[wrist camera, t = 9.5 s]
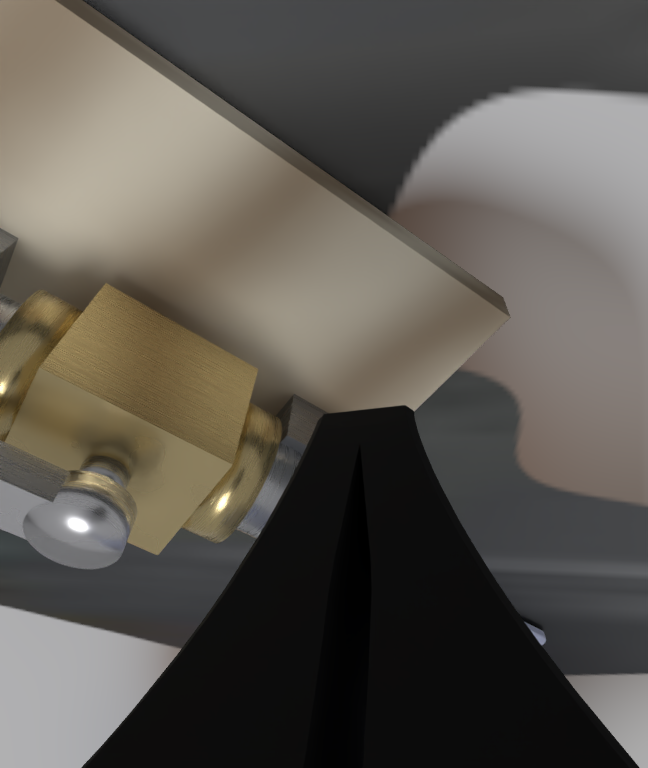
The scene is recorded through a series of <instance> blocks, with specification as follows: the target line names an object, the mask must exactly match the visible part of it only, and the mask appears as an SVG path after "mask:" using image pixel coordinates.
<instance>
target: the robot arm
mask: <svg viewBox="0 0 648 768" xmlns="http://www.w3.org/2000/svg"><path fill="white" fill-rule="evenodd" d="M545 642H546V638H545V634H544V632H543V631H542V630H540V629H538V628H536V627H534V626H532V625H530V624H528V623H526V622H524V621H523V619H522V618H521V616H520V615H519V614H518V612H517V611H516V609H515V608H514V607H513V605H512V604H511V602H510V601H509V599H508V598H507V596H506V595H505V593H504V592H503V590H502V589H501V587H500V586H499V584H498V583H497V581H496V580H495V578H494V577H493V575H492V574H491V572H490V571H489V569H488V567H487V566H486V564H485V563H484V561H483V559H482V558H481V556H480V554H479V553H478V551H477V550H476V548H475V546H474V545H473V543H472V542H471V540H470V538H469V537H468V535H467V533H466V531H465V530H464V528H463V526H462V524H461V523H460V521H459V519H458V517H457V515H456V514H455V512H454V510H453V508H452V506H451V504H450V502H449V500H448V499H447V497H446V495H445V493H444V491H443V489H442V487H441V485H440V483H439V481H438V479H437V477H436V475H435V473H434V471H433V469H432V466H431V464H430V462H429V459H428V457H427V455H426V452H425V450H424V447H423V445H422V442H421V439H420V436H419V433H418V430H417V426H416V422H415V418H414V411H413V410H412V409H410V408H409V407H407V406H406V405H401V406H392V407H383V408H374V409H365V410H356V411H347V412H338V413H329V414H323V416H322V417H321V418H320V419H319V420H318V422H317V424H316V426H315V429H314V431H313V433H312V436H311V438H310V440H309V442H308V444H307V447H306V449H305V451H304V453H303V455H302V457H301V459H300V461H299V463H298V465H297V467H296V469H295V471H294V473H293V475H292V477H291V479H290V481H289V483H288V485H287V486H286V488H285V490H284V492H283V494H282V495H281V497H280V499H279V501H278V503H277V505H276V506H275V508H274V510H273V512H272V514H271V515H270V517H269V519H268V521H267V523H266V524H265V526H264V528H263V529H262V531H261V533H260V534H259V536H258V538H257V539H256V541H255V542H254V544H253V546H252V547H251V549H250V550H249V552H248V554H247V555H246V557H245V558H244V560H243V561H242V563H241V565H240V566H239V568H238V569H237V571H236V573H235V574H234V576H233V577H232V579H231V580H230V582H229V584H228V585H227V586H226V588H225V589H224V591H223V592H222V594H221V595H220V597H219V598H218V600H217V601H216V603H215V604H214V605H213V607H212V608H211V610H210V611H209V613H208V614H207V615H206V617H205V618H204V620H203V621H202V622H201V624H200V625H199V626H198V628H197V629H196V630H195V632H194V633H193V634H192V636H191V637H190V638H189V640H188V641H187V642H186V644H185V645H184V647H183V648H182V649H181V651H180V652H179V653H178V655H177V656H176V657H175V658H174V660H173V661H172V662H171V663H170V665H169V666H168V667H167V668H166V670H165V671H164V672H163V673H162V674H161V676H160V677H159V678H158V679H157V681H156V682H155V683H154V684H153V686H152V687H151V688H150V689H149V691H148V692H147V693H146V694H145V695H144V697H143V698H142V699H141V700H140V702H139V703H138V704H137V705H136V707H135V708H134V709H133V710H132V712H131V713H130V714H129V715H128V716H127V718H125V720H124V721H123V722H122V723H121V724H120V725H119V727H118V728H117V729H116V730H115V731H114V732H113V734H112V735H111V736H110V737H109V738H108V739H107V740H106V742H105V743H104V744H103V745H102V746H101V747H100V748H99V749H98V750H97V752H96V753H95V754H94V755H93V756H92V757H91V758H90V759H89V760H88V761H87V762H86V763H85V764H84V766H83V767H82V768H639V767H638V765H637V764H636V763H635V762H634V761H633V759H632V758H631V757H630V756H629V754H628V753H627V752H626V751H625V750H624V748H623V747H622V746H621V745H620V744H619V742H618V741H617V740H616V739H615V738H614V736H613V735H612V734H611V733H610V731H608V729H607V728H606V727H605V725H604V724H603V723H602V722H601V721H600V719H599V718H598V717H597V716H596V715H595V713H594V712H593V711H592V710H591V709H590V707H589V706H588V705H587V704H586V703H585V701H584V700H583V699H582V698H581V697H580V696H579V694H578V693H577V691H576V690H575V689H574V688H573V686H572V685H571V684H570V682H569V681H568V680H567V679H566V677H565V676H564V675H563V673H562V672H561V671H560V669H559V668H558V667H557V665H556V664H555V663H554V661H553V660H552V659H551V657H550V656H549V655H548V653H547V652H546V651H545V650H544V648H543V647H542V645H543V644H544V643H545Z"/></svg>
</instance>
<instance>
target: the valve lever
mask: <svg viewBox="0 0 648 768" xmlns="http://www.w3.org/2000/svg"><path fill="white" fill-rule="evenodd" d="M137 513H138V512H137V506H136V503H135V501H134V499H133V497H132V496H131V495H130V493H129V492H128V491H127V490H126V489H125V488H124V487H122V486H121V485H120V484H118V483H117V482H115V481H114V480H112V479H110V478H108V477H106V476H103V475H100V474H97V473H94V472H89V471H83V470H69V471H67V470H65V469H62V468H60V467H58V466H56V465H54V464H51V463H49V462H47V461H45V460H43V459H40V458H38V457H36V456H34V455H32V454H29V453H27V452H25V451H23V450H21V449H18V448H16V447H14V446H12V445H10V444H7V443H5V442H3V441H1V440H0V529H2V530H4V531H7V532H9V533H12V534H14V535H17V536H19V537H21V538H24V539H26V540H28V542H29V543H30V544H31V545H32V546H33V547H34V548H35V549H36V550H37V551H38V552H39V553H41V554H42V555H44V556H45V557H47V558H49V559H51V560H53V561H55V562H57V563H60V564H63V565H66V566H69V567H74V568H80V569H97V568H103V567H106V566H109V565H111V564H113V563H115V562H116V561H117V560H118V559H119V558H120V556H121V555H122V552H123V550H124V548H125V545H126V543H127V540H128V538H129V535H130V533H131V530H132V528H133V526H134V523H135V521H136V518H137Z"/></svg>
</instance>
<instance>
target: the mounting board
mask: <svg viewBox="0 0 648 768" xmlns="http://www.w3.org/2000/svg"><path fill="white" fill-rule="evenodd" d="M0 228H1V229H3V230H5V231H6V232H8V233H10V234H12V235H14V236H15V237H17V238H18V241H17V244H16V246H15V249H14V252H13V255H12V257H11V260H10V263H9V265H8V268H7V271H6V274H5V276H4V279H3V282H2V284H1V287H0V293H1V294H3V295H5V296H7V297H8V298H10V299H12V300H14V301H16V302H18V303H20V304H23V303H24V302H25V301H26V300H27V299H28V298H29V297H30V296H31V295H32V294H34V293H35V292H36V291H38V290H41V289H42V290H45V291H47V292H48V293H50V294H52V295H54V296H56V297H58V298H59V299H61V300H63V301H65V302H67V303H69V304H70V305H72V306H74V307H76V308H78V309H80V310H81V311H84V310H85V309H86V307H87V306H88V305H89V304H90V302H91V301H92V300H93V298H94V297H95V296H96V295H97V293H98V292H99V291H100V290H101V288H102V287H103V286H104V284H105V283H107V284H109V285H110V286H112V287H114V288H116V289H117V290H119V291H121V292H123V293H124V294H126V295H128V296H130V297H131V298H133V299H135V300H137V301H139V302H140V303H142V304H144V305H146V306H147V307H149V308H151V309H153V310H154V311H156V312H158V313H160V314H162V315H163V316H165V317H167V318H169V319H170V320H172V321H174V322H176V323H177V324H179V325H181V326H183V327H184V328H186V329H188V330H190V331H192V332H193V333H195V334H197V335H199V336H200V337H202V338H204V339H206V340H207V341H209V342H211V343H213V344H215V345H216V346H218V347H220V348H222V349H223V350H225V351H227V352H229V353H230V354H232V355H234V356H236V357H237V358H239V359H241V360H243V361H245V362H246V363H248V364H250V365H252V366H253V367H255V368H257V369H258V372H257V376H256V380H255V383H254V387H253V391H252V395H251V398H250V403H252V404H254V405H256V406H258V407H260V408H261V409H263V410H265V411H267V412H269V413H271V414H272V415H274V416H276V415H277V414H278V413H279V411H280V410H281V409H282V408H283V407H284V405H285V404H286V403H287V402H288V401H289V399H290V398H291V397H292V396H293V395H294V394H296V395H297V396H299V397H301V398H303V399H305V400H306V401H308V402H310V403H312V404H313V405H315V406H317V407H319V408H320V409H322V410H324V411H326V412H328V413H338V412H347V411H356V410H365V409H374V408H383V407H392V406H401V405H406V406H407V407H409V408H410V409H412V410H413V411H415V410H416V409H417V408H418V407H419V406H420V405H421V404H422V403H423V402H424V401H425V400H426V399H427V398H429V397H430V396H431V395H432V394H433V393H434V392H435V391H436V390H437V389H438V388H439V387H440V386H441V385H442V384H443V383H444V382H445V381H446V380H447V379H448V378H449V377H450V376H451V375H452V374H453V373H454V372H455V371H456V370H457V369H458V368H459V367H460V366H461V365H462V364H463V363H464V362H465V361H466V360H468V359H469V358H470V357H471V355H473V354H474V352H476V351H477V350H478V349H479V348H480V347H481V346H482V345H483V344H484V343H485V342H486V341H487V340H488V339H489V338H490V337H491V336H492V335H493V334H494V333H495V332H496V331H497V330H498V329H499V328H500V327H501V326H502V325H503V324H504V323H505V322H506V321H508V320H509V319H510V315H509V312H508V310H507V307H506V304H505V302H504V299H503V297H502V296H500V295H499V294H497V293H496V292H495V291H493V290H492V289H490V288H489V287H487V286H486V285H485V284H483V283H482V282H480V281H479V280H478V279H476V278H475V277H473V276H472V275H470V274H469V273H467V272H466V271H464V270H463V269H462V268H461V267H459V266H458V265H456V264H455V263H453V262H452V261H451V260H449V259H448V258H446V257H445V256H443V255H442V254H441V253H439V252H438V251H437V250H435V249H434V248H432V247H431V246H429V245H428V244H427V243H425V242H424V241H422V240H421V239H419V238H418V237H417V236H415V235H414V234H412V233H411V232H410V231H408V230H407V229H405V228H404V227H403V226H401V225H400V224H398V223H397V222H395V221H394V220H393V219H391V218H390V217H388V216H387V215H386V214H384V213H383V212H381V211H380V210H378V209H377V208H376V207H374V206H373V205H371V204H370V203H369V202H367V201H366V200H364V199H363V198H362V197H360V196H359V195H357V194H356V193H354V192H353V191H352V190H350V189H349V188H347V187H346V186H345V185H343V184H342V183H340V182H339V181H337V180H336V179H335V178H333V177H332V176H330V175H329V174H328V173H326V172H325V171H323V170H322V169H320V168H319V167H318V166H316V165H315V164H313V163H312V162H311V161H309V160H308V159H306V158H305V157H303V156H302V155H301V154H299V153H298V152H296V151H295V150H294V149H292V148H291V147H289V146H288V145H286V144H285V143H284V142H282V141H281V140H279V139H278V138H277V137H275V136H274V135H272V134H271V133H269V132H268V131H267V130H265V129H264V128H262V127H261V126H260V125H258V124H257V123H255V122H254V121H253V120H251V119H250V118H248V117H247V116H245V115H244V114H243V113H241V112H240V111H238V110H237V109H236V108H234V107H233V106H231V105H230V104H228V103H227V102H226V101H224V100H223V99H221V98H220V97H219V96H217V95H216V94H214V93H213V92H211V91H210V90H209V89H207V88H206V87H204V86H203V85H202V84H200V83H199V82H197V81H196V80H194V79H193V78H192V77H190V76H189V75H187V74H186V73H185V72H183V71H182V70H180V69H179V68H177V67H176V66H175V65H173V64H172V63H170V62H169V61H168V60H166V59H165V58H163V57H162V56H161V55H159V54H158V53H156V52H155V51H153V50H152V49H151V48H149V47H148V46H146V45H145V44H144V43H142V42H141V41H139V40H138V39H136V38H135V37H134V36H132V35H131V34H129V33H128V32H127V31H125V30H124V29H122V28H121V27H119V26H118V25H117V24H115V23H114V22H112V21H111V20H110V19H108V18H107V17H105V16H104V15H102V14H101V13H100V12H98V11H97V10H95V9H94V8H93V7H91V6H90V5H88V4H87V3H85V2H84V1H83V0H0ZM237 530H238V529H237ZM239 531H241V530H239ZM242 532H243V531H242ZM244 533H245V532H244ZM246 534H247V533H246ZM248 535H249V534H248ZM250 536H251V535H250ZM252 537H253V536H252ZM254 538H256V537H254Z"/></svg>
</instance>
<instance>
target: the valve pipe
mask: <svg viewBox="0 0 648 768" xmlns="http://www.w3.org/2000/svg"><path fill="white" fill-rule="evenodd" d="M17 241H18V238H17V237H15V236H14V235H12V234H10V233H8V232H6V231H5V230H3V229H1V228H0V287H1V284H2V282H3V279H4V276H5V274H6V271H7V268H8V265H9V263H10V260H11V257H12V255H13V252H14V249H15V246H16V244H17ZM257 372H258V369H257V368H255V367H253V366H252V365H250V364H248V363H246V362H245V361H243V360H241V359H239V358H237V357H236V356H234V355H232V354H230V353H229V352H227V351H225V350H223V349H222V348H220V347H218V346H216V345H215V344H213V343H211V342H209V341H207V340H206V339H204V338H202V337H200V336H199V335H197V334H195V333H193V332H192V331H190V330H188V329H186V328H184V327H183V326H181V325H179V324H177V323H176V322H174V321H172V320H170V319H169V318H167V317H165V316H163V315H162V314H160V313H158V312H156V311H154V310H153V309H151V308H149V307H147V306H146V305H144V304H142V303H140V302H139V301H137V300H135V299H133V298H131V297H130V296H128V295H126V294H124V293H123V292H121V291H119V290H117V289H116V288H114V287H112V286H110V285H109V284H107V283H105V284H104V286H103V287H102V288H101V290H100V291H99V292H98V293H97V295H96V296H95V297H94V298H93V300H92V301H91V302H90V304H89V305H88V306H87V307H86V309H85V310H84V311H81V310H80V309H78V308H76V307H74V306H72V305H70V304H69V303H67V302H65V301H63V300H61V299H59V298H58V297H56V296H54V295H52V294H50V293H48V292H47V291H45V290H42V289H41V290H38V291H36V292H35V293H34V294H32V295H31V296H30V297H29V298H28V299H27V300H26V301H25V302H24V303H23V304H20V303H18V302H16V301H14V300H12V299H10V298H8V297H7V296H5V295H3V294H1V293H0V440H1V441H3V442H5V443H7V444H10V445H12V446H14V447H16V448H18V449H21V450H23V451H25V452H27V453H29V454H32V455H34V456H36V457H38V458H40V459H43V460H45V461H47V462H49V463H51V464H54V465H56V466H58V467H60V468H62V469H65V470H67V471H69V470H83V471H89V472H94V473H97V474H100V475H103V476H106V477H108V478H110V479H112V480H114V481H115V482H117V483H118V484H120V485H121V486H122V487H124V488H125V489H126V490H127V491H128V492H129V493H130V495H131V496H132V497H133V499H134V501H135V503H136V506H137V512H138V513H137V518H136V521H135V523H134V526H133V528H132V530H131V533H130V535H129V538H128V540H127V542H128V543H130V544H133V545H135V546H137V547H140V548H142V549H144V550H146V551H149V552H151V553H153V554H156V555H158V554H159V553H160V552H161V551H162V550H163V548H164V547H165V546H166V545H167V544H168V542H169V541H170V540H171V539H172V538H173V536H174V535H175V534H176V533H177V532H178V530H179V529H180V528H183V529H186V530H188V531H190V532H192V533H194V534H197V535H199V536H201V537H203V538H205V539H208V540H210V541H212V542H214V543H220V542H222V541H224V540H225V539H226V538H227V537H229V536H230V535H231V534H232V533H233V532H234V530H235V529H238V530H241V531H243V532H245V533H247V534H249V535H251V536H253V537H256V538H258V536H259V534H260V533H261V531H262V529H263V528H264V526H265V524H266V523H267V521H268V519H269V517H270V515H271V514H272V512H273V510H274V508H275V506H276V505H277V503H278V501H279V499H280V497H281V495H282V494H283V492H284V490H285V488H286V486H287V485H288V483H289V481H290V479H291V477H292V475H293V473H294V471H295V469H296V467H297V465H298V463H299V461H300V459H301V457H302V455H303V453H304V451H305V449H306V447H307V444H308V442H309V440H310V438H311V436H312V433H313V431H314V429H315V426H316V424H317V422H318V420H319V419H320V418H321V417H322V416H323V414H329V413H328V412H326V411H324V410H322V409H320V408H319V407H317V406H315V405H313V404H312V403H310V402H308V401H306V400H305V399H303V398H301V397H299V396H297V395H296V394H294V395H293V396H292V397H291V398H290V399H289V401H288V402H287V403H286V404H285V405H284V407H283V408H282V409H281V410H280V411H279V413H278V414H277V415H276V416H274V415H272V414H271V413H269V412H267V411H265V410H263V409H261V408H260V407H258V406H256V405H254V404H252V403H250V398H251V395H252V391H253V387H254V383H255V380H256V376H257Z"/></svg>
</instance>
